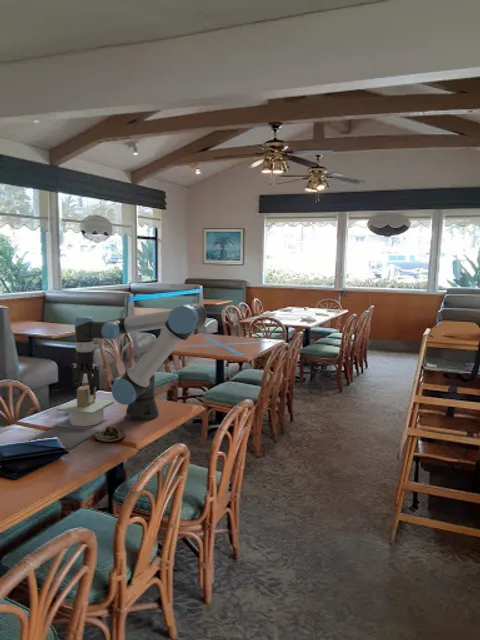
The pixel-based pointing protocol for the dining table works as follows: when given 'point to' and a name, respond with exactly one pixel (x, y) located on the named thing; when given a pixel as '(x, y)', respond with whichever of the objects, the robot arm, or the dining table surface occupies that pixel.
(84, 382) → the smoothie
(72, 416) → the bowl
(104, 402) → the lid
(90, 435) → the mat
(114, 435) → the burger
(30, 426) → the dining table surface
